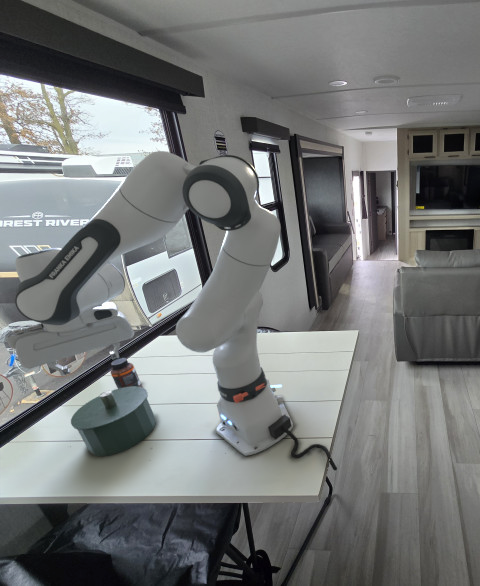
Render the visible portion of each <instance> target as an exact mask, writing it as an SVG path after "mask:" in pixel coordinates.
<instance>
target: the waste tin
mask: <svg viewBox="0 0 480 586" xmlns="http://www.w3.org/2000/svg"><path fill="white" fill-rule="evenodd" d="M156 424H157V419H156V417H155V414H154V412H153V410H152V407H151V404H150V402H149V400H148V398H147V399H146V401H145V402H144V404H143V405H142V406H141V407H140V408H139V409H137V410H136V411H135V412H133V413H132V414H130V415H129V416H127V417H126V418H124V419H122V420H120V421H118V422H116V423H113V424H111V425H108V426H105V427H102V428H98V429H93V430H77V432H78V433H79V435H80V437H81V439H82V441H83V442H84V445H85V446H86V448H87V450H88V452H89V453H91V454H92V455H93V456H97V457H107V456H112V455H115V454H116V455H117V454H119V453H121V452H124V451H127V450H129V449H131V448H132V447H134V446H135V445H138V444H139V443H141V441H143V440H144V439H145V438H146V437H148V436H149V435H150V434H151V433H152V432H153V430H154V428H155V427H156Z"/></svg>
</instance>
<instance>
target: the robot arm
mask: <svg viewBox="0 0 480 586" xmlns="http://www.w3.org/2000/svg"><path fill="white" fill-rule="evenodd" d="M259 189H260V178H259V175H258V172H257V170H256V169H255V167H254V166H253V164H252V163H250V161H248V160H247V159H244V158H242V157H240V156H238V155H233V154H223V155H219V156H215V157H211V158H208V159H205V160H201V161H200V162H199V163H198V164H197V165H194V164H192V163H190V162H188V161H187V160H185V159H184V158H182V157H181V156H179V155H177V154H175V153H172V152H169V151H162V150H159V151H158V150H157V151H154V152H151V153H149V154H148V155H146V157H144V158H143V159H142V160H140V162H139V163H137V164H136V165H135V166H134V168H132V169H131V170H130V171H129V172H128V173H127V175H126V176H125V177H124V179H123V180H122V181H121V183H120V184H119V186H117V188H116V190H115V191H114V192H113V194H112V195H111V196H110V197H109V198H108V199H107V201H106V202H105V204H104V205H103V206H102V207H101V208H100V209H99V210H98V211H97V212H96V214H95V215H94V216H92V218H90V219H89V221H87V222H86V223H85V224H84V225H83V226H82V227H81V228H80V229H79V230H78V231H77V232H76V233H75V234H73V236H72V237H71V238H70V239H69V240H68V242H66V244H65V245H64V246H63V247H62V248H61V247H49V248H45V249H41V250H36V251H31V252H28V253H24V254H22V255H19V256H18V257H16V259H15V261H14V263H15V264H14V265H15V270H16V274H17V277H18V280H19V281H20V282H19V284H18V285H17V288H16V290H15V294H14V303H15V307H16V309H17V310H18V312H19V313H20V314H21V315H22V316H23V317H25V318H26V319H28V320H30V321H33V322H36V324H33V325H30V326H26V327H23V328H22V327H21V328H17V329H14V330H12V332H10V333H9V334H7V336H6V337H5V341H6V343H7V344H8V347H10V348H11V349H13V350H15V353H16V356H17V358H18V362H19V363H20V365H21V367H22V368H25V369H28V370H31V369H34V368H38V367H40V366H44V365H47V366H48V368H50V369H52V370H55V371H56V372H58V373H59V375H60V376H61V377H65V376H67V375H70V374H71V370H70V368H69V366H68V365H61V364H58V361H60V360H63V359H68V358H71V357H73V356H76V355H80V354H82V353H83V354H84V353H86V352H90V351H94V350H97V349H100V348H104V347H106V346H110V345H112V347H113V350H110V351H109V355H110V357H111V359H112V360H113V361H114V360H117V359H120V354H119V350H120V347H121V343H120V342H122V341H126V340H129V339H132V338H133V337H134V335H135V331H134V328H133V327H132V325H131V323H130V321H129V320H128V318H127V317H126V315H125V314H124V313H123V312H122V311H119V308H118V306H117V304H116V303H114V302H113V301H112V300H113V299H115V298H117V297H118V296H120V295H122V294H123V292H124V291H125V288H126V280H125V277H124V275H123V273H122V272H121V270H120V269H119V268H118V267H116V266H115V265H114V264H112V263H110V262H111V261H113V260H115V259H116V258H118V257H120V256H123V255H125V254H127V253H129V252H132V251H134V250H137V249H139V248H142V247H145V246H147V245H150V244H152V243H154V242H156V241H159V240H160V239H163V237H164V236H166V235H167V234H169V233H170V232H171V231H172V230H173V229H174V228H175V227H176V226H177V225H178V223H179V222H180V221H181V219H182V218H183V217H184V216H185V214H186V213H187V212H188V210H190V211H191V212H192V213H193V214H194V215H195V216H196V217H198V218H199V219H201V220H203V221H205V222H206V223H209V224H211V225H213V226H215V227H217V228H218V229H219V230H221V231H225V235H224V238H223V241H222V243H221V246H220V250H219V252H218V255H217V259H216V262H215V264H214V266H213V270H212V271H211V273H210V275H209V277H208V279H207V280H206V282H205V283H204V286H202V288H201V290H200V291H199V293H198V294H197V296H196V298H195V299H194V301H193V302H192V304H191V306H190V307H189V308H188V309H187V310H186V312H185V313H184V314H183V315H182V316H181V317H180V318H179V320H178V321H177V323H176V325H175V333H176V337H177V339H178V341H179V343H180V344H181V345H182V346H183V347H184V348H186V349H188V350H189V351H191V352H195V353H201V354H203V353H207V352H210V351H213V352H212V358H211V361H212V364H213V368H214V372H215V375H216V379H217V383H216V385H217V390H218V392H219V395H220V398H219V400H218V401H217V403H216V408H217V411H218V415H219V419H220V420H219V421H220V422H219V424H218V425H217V426H216V429H215V431H216V433H217V435H218V436H220V437H221V438H222V439H223V440H224V441H226V442H227V443H228V444H230V445H231V447H234V449H235V450H237V452H239V453H240V454H242V455H243V456H245V457H247V456H252V455H255V454H258V453H261V452H262V451H265V450H267V449H268V448H270V447H273V446H274V445H275V444H277V443H279V442H280V441H281V440H282V439H284V438H285V437H286V436H287V435H288V436H289V437H290V438H291V439H292V440H293V442H294V446H293V448H292V449H291V453H290V456H291V457H292V458H294V459H299V458H301V457H303V456H304V455H306V454H307V453H309V452H310V451H311V450H313V449H319V450H322V451H323V452H324V454H325V455H326V458H327V460H328V462H329V465H330V466H331V468H332V470H333V471H337V470H338V467H337V465H336V464H335V462H334V460H333V458H332V457H331V458H330V455H331V453H330V450H329V449H328V448H327V447H326V446H325V445H324V444H320V443H313V444H311V445H310V446H308V447H306V448H305V449H304V450H303V451H301V452H300V453H296V451H297V449H298V448H299V440H298V438H297V437H296V436H295V434H294V433H293V432H292V430H293V428H294V423H293V421H292V418H291V417H290V414H289V412H288V410H287V407H286V406H285V404H284V399H283V397H282V396H281V395H277V394H275V392H276V391H277V390H276V388H282V387H283V385H282V384H273V385H271V384H270V380H269V379H268V378H267V375H266V373H265V371H264V369H263V368H262V366H261V361H260V356H259V351H258V342H257V341H258V326H259V318H260V313H261V310H262V307H263V305H264V304H263V303H264V298H263V295H262V293H261V291H260V290H261V288H262V286H263V283H264V282H265V279H266V277H267V274H268V272H269V269H270V267H271V265H272V262H273V260H274V257H275V256H276V255H275V254H276V252H277V248H278V244H279V241H280V235H281V229H282V227H281V222H280V220H279V218H278V217H277V216H276V215H275V213H273V212H272V211H270V210H268V208H267V209H266V208H264V207H262V206H261V205H260V204H259V203H258V201H257V200H256V199H255V198H256V197H257V194H258V193H259ZM329 459H330V461H329Z"/></svg>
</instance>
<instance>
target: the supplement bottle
mask: <svg viewBox="0 0 480 586" xmlns="http://www.w3.org/2000/svg"><path fill="white" fill-rule="evenodd" d="M110 365H111V369H110V375H111V378H112V380H113V381H114V384H115V387H116V389H119V388H124V387H130V386H138V387H142V383H141V380H140V378H139V375H138V373H137V370H136V368H135V366H134V364H133V363H132V362H129V361H128V359H127V358H126V357H122V358H116V359H114V360H113V361H112V362H111V363H110Z"/></svg>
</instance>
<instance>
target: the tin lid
mask: <svg viewBox="0 0 480 586" xmlns="http://www.w3.org/2000/svg"><path fill="white" fill-rule="evenodd" d="M148 397H149V394H148V391H147V389H146V388H145V387H143V386H141V387H138V386H130V387H124V388H119V389H118V388H115V389H112V390H105V391H103V392H101V393H100V394H99V395H98V396H96V397H94V398H92V399H91V400H89V401H88V402H86V403H85V404H83V405H81V406H80V407H79V408H78V409H77V410H76V411H75V412H74V414H72V416H71V419H70V425H71V427H72V428H73V429H75V430H77V431H78V430H93V429H98V428H102V427H105V426H108V425H111V424H113V423H116V422H118V421H120V420H122V419H124V418H126V417H127V416H129V415H130V414H132V413H133V412H135V411H136V410H137V409H139V408H140V407H141V406H142V405H143V404H144V402H145V401H146V399H147V400H148Z"/></svg>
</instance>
